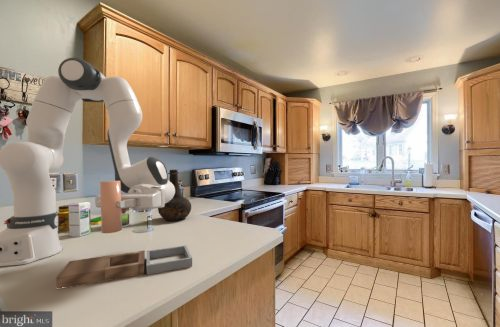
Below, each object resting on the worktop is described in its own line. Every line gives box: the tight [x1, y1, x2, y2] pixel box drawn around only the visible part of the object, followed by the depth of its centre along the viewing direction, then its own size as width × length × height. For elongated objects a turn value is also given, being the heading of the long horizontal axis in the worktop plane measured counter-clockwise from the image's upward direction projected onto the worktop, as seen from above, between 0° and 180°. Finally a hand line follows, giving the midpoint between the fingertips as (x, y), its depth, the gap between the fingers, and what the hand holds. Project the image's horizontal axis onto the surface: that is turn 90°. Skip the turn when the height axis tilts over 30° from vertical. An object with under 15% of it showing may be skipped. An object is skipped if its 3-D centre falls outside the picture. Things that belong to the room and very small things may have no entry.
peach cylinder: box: [99, 180, 123, 234], centre depth 68 cm, size 5×5×14 cm
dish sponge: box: [91, 215, 101, 226], centre depth 133 cm, size 7×14×2 cm, turn 172°
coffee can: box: [121, 208, 130, 228], centre depth 122 cm, size 10×10×14 cm
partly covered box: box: [55, 250, 146, 289], centre depth 69 cm, size 20×11×3 cm, turn 113°
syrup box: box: [68, 201, 92, 238], centre depth 107 cm, size 6×6×14 cm
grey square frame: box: [146, 244, 193, 275], centre depth 75 cm, size 13×13×2 cm
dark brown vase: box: [157, 169, 192, 222], centre depth 136 cm, size 18×18×28 cm
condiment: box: [57, 204, 70, 234], centre depth 115 cm, size 7×8×12 cm
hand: (108, 204), depth 67 cm, fingers closed on peach cylinder, 5 cm apart
